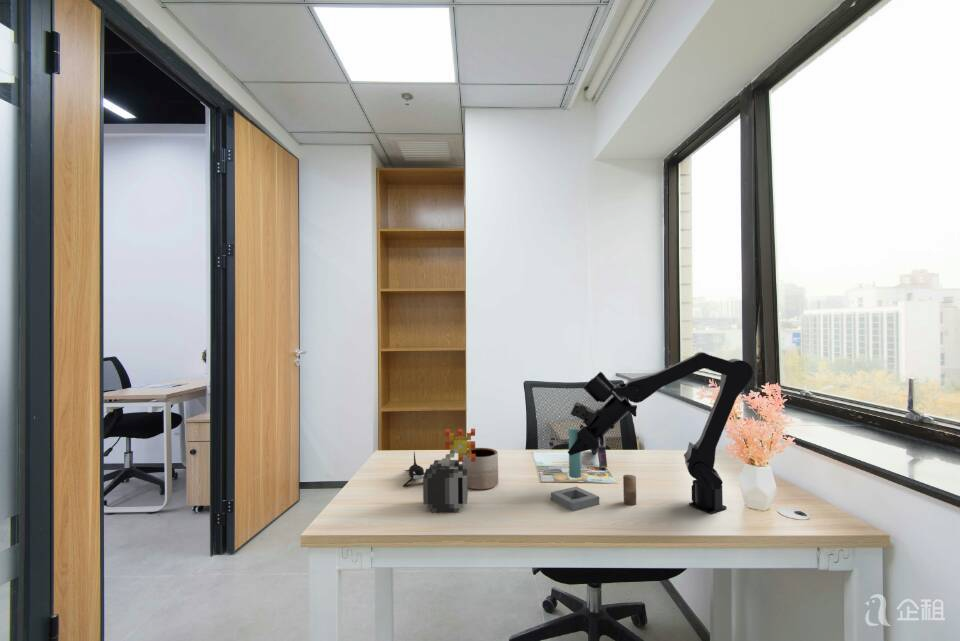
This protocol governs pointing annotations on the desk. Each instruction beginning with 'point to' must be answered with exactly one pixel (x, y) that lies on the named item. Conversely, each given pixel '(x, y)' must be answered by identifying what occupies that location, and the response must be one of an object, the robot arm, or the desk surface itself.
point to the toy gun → (601, 453)
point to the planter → (482, 468)
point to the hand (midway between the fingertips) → (569, 452)
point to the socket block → (582, 502)
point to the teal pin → (574, 456)
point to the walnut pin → (629, 489)
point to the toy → (415, 472)
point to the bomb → (449, 476)
